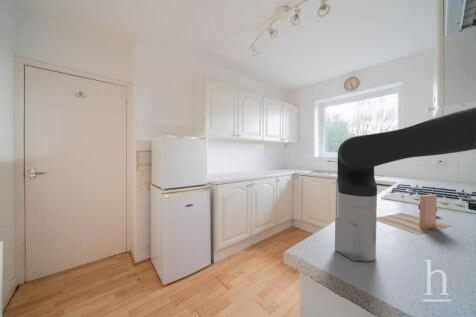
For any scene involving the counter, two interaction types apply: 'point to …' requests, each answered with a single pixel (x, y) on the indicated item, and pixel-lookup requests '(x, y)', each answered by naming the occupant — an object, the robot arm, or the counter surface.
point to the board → (408, 223)
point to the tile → (428, 211)
